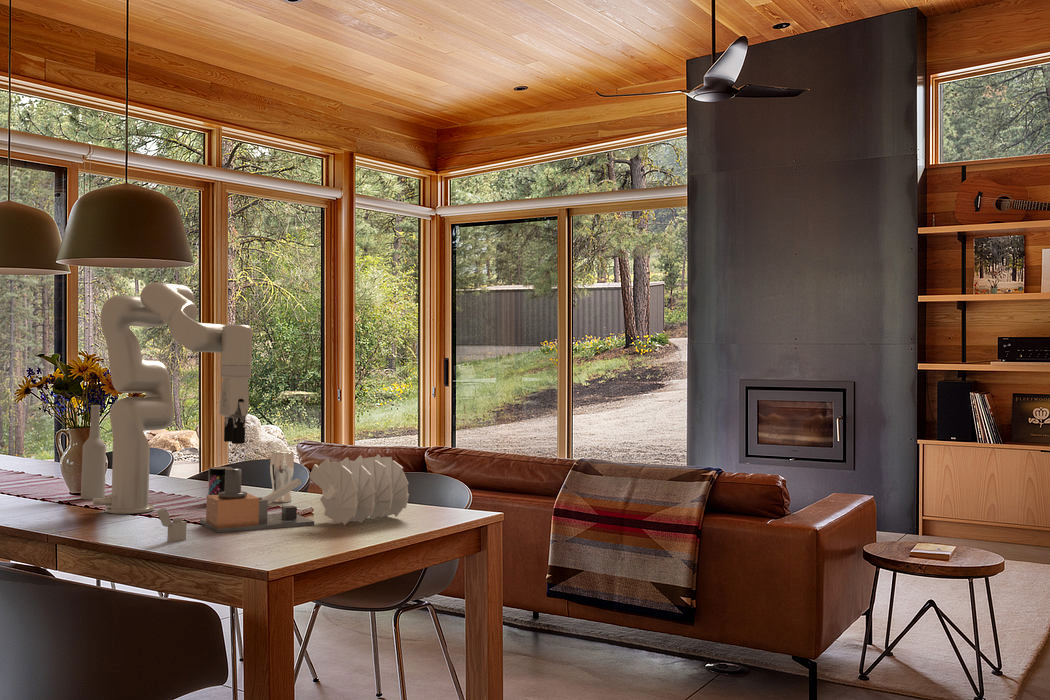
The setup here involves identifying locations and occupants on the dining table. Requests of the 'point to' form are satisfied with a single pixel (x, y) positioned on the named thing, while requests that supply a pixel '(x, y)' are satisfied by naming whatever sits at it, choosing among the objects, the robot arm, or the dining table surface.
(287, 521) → the base
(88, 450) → the bottle
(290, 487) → the latch lever
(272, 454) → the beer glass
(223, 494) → the steel pin
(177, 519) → the lighter
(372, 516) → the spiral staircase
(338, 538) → the dining table surface
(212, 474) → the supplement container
